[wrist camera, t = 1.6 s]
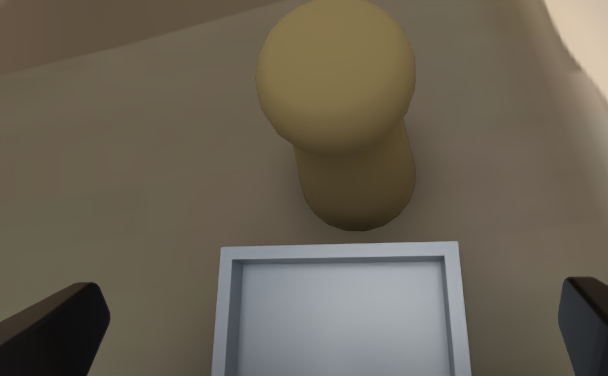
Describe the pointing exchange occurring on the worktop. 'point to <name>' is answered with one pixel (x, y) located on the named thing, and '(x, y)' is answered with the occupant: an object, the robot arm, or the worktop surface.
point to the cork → (343, 108)
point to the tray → (341, 311)
